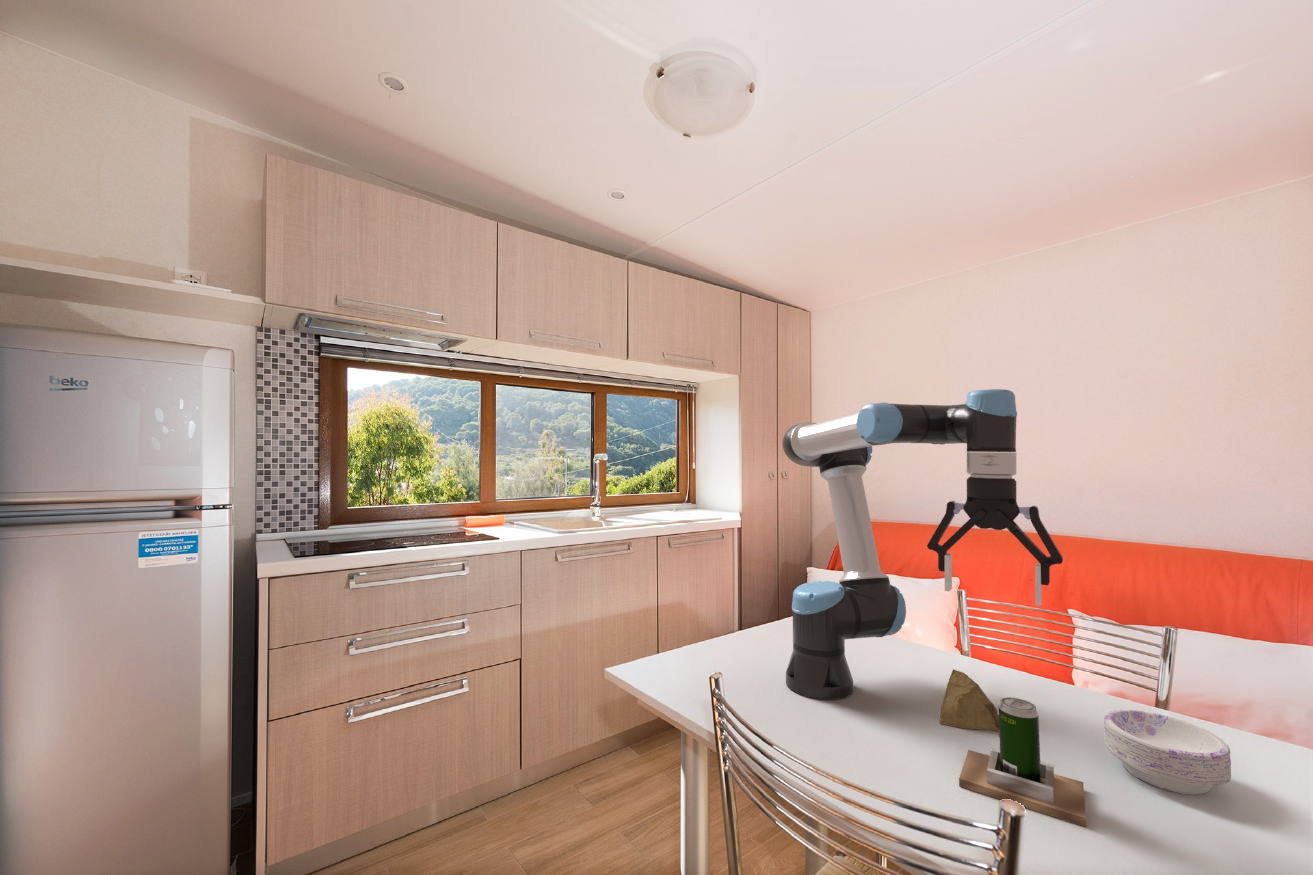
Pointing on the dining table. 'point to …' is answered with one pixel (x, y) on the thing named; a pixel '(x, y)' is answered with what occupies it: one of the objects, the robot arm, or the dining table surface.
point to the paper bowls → (1167, 751)
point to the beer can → (1019, 738)
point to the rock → (967, 705)
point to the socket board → (1025, 787)
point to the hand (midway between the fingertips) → (991, 596)
